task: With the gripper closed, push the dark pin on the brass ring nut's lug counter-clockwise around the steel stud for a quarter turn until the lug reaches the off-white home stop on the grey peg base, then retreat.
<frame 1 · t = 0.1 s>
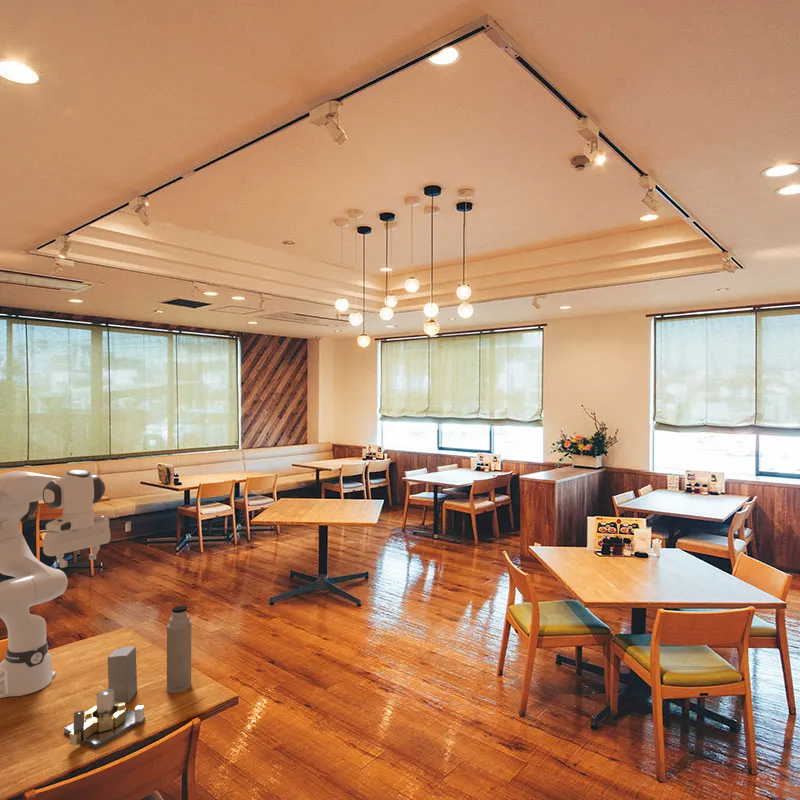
hand: (78, 563, 179), 48 cm above the table, fingers open, 8 cm apart
thermos bottle: (179, 688, 193), on the table
ring nut: (97, 714, 167), point 6 cm above the table, hinge at 0.0°
skincare box: (122, 698, 186), on the table
grey peg base: (105, 727, 170), on the table
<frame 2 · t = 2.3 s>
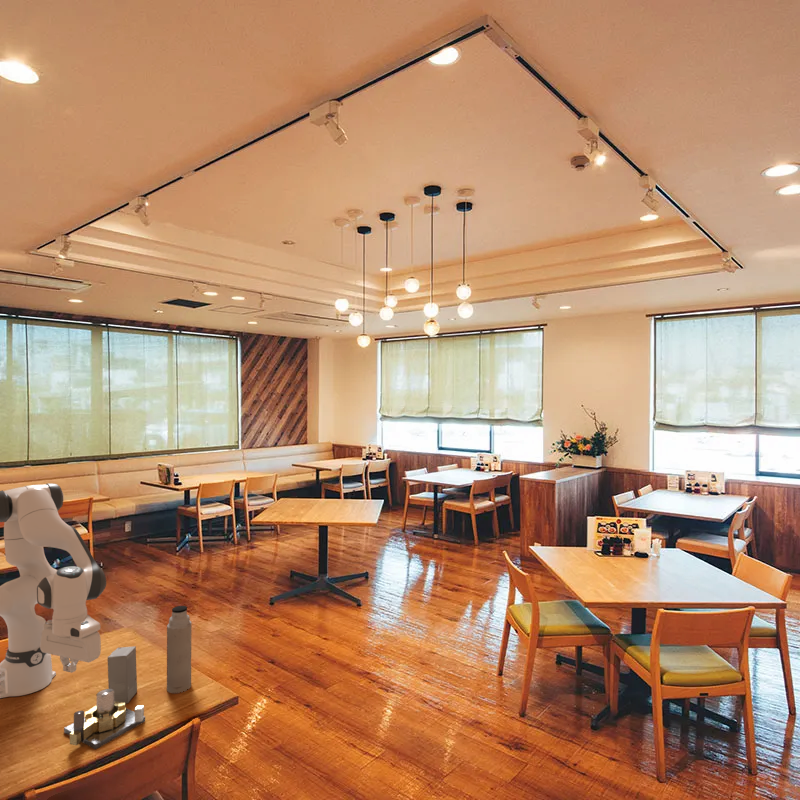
hand: (69, 671, 162), 21 cm above the table, fingers closed
nothing on the table moved.
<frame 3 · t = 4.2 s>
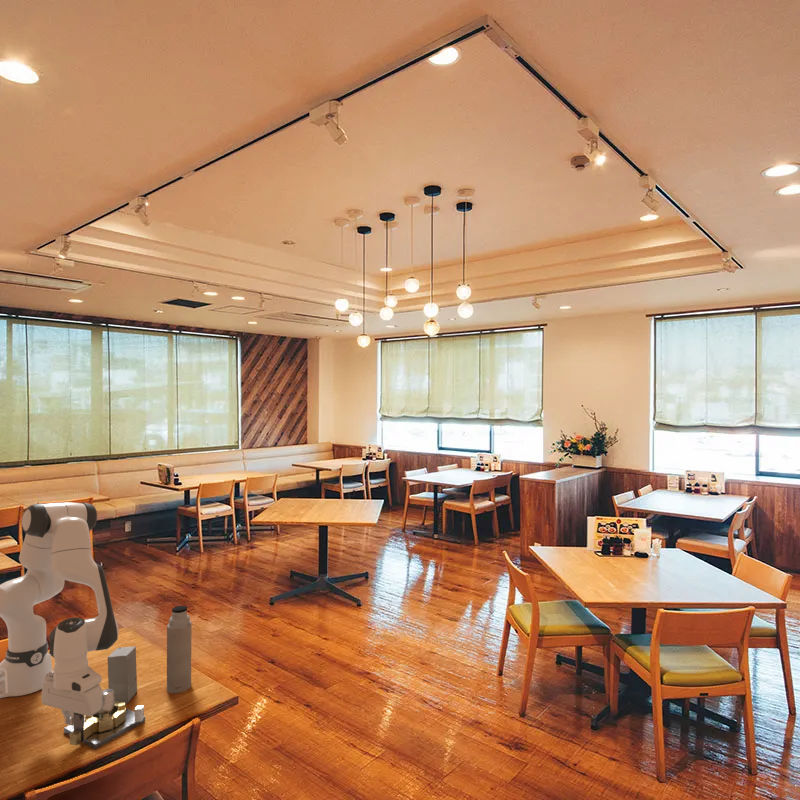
hand: (71, 723, 162), 6 cm above the table, fingers closed
ring nut: (97, 714, 167), point 6 cm above the table, hinge at 0.0°, touching gripper
everything else where it was.
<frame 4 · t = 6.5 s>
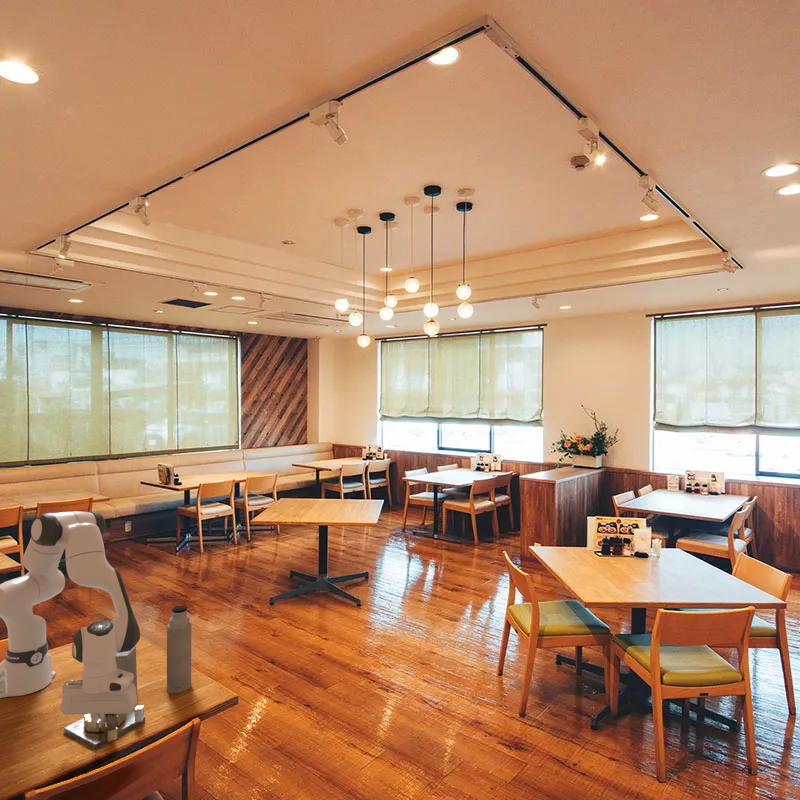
hand: (98, 726, 161), 5 cm above the table, fingers closed
ring nut: (107, 713, 167), point 6 cm above the table, hinge at 51.8°, touching gripper
everything else where it was.
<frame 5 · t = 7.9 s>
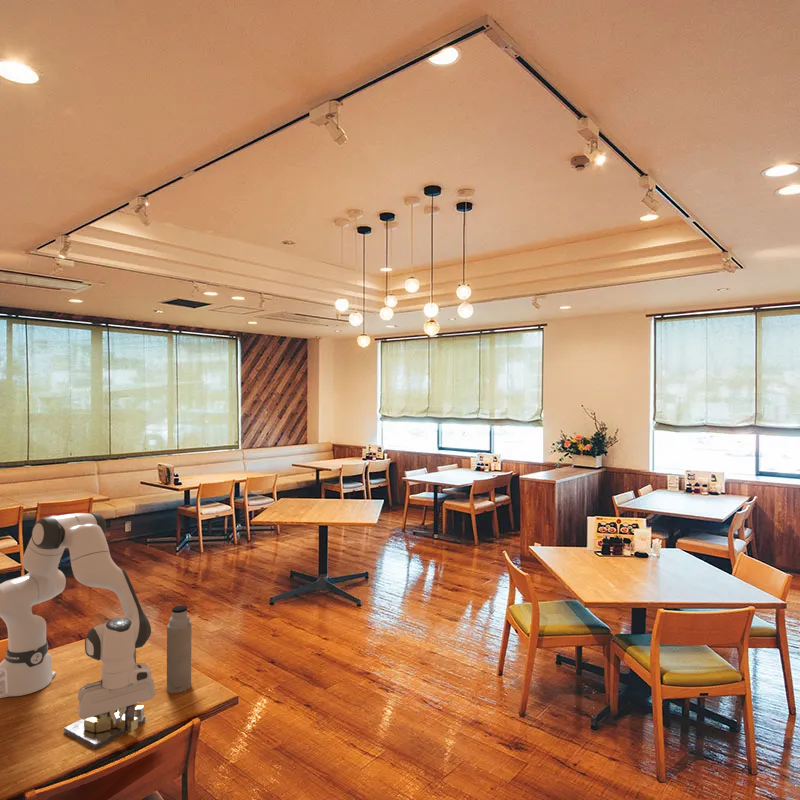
hand: (117, 722, 163), 5 cm above the table, fingers closed
ring nut: (113, 710, 169), point 6 cm above the table, hinge at 83.0°, touching gripper
everything else where it was.
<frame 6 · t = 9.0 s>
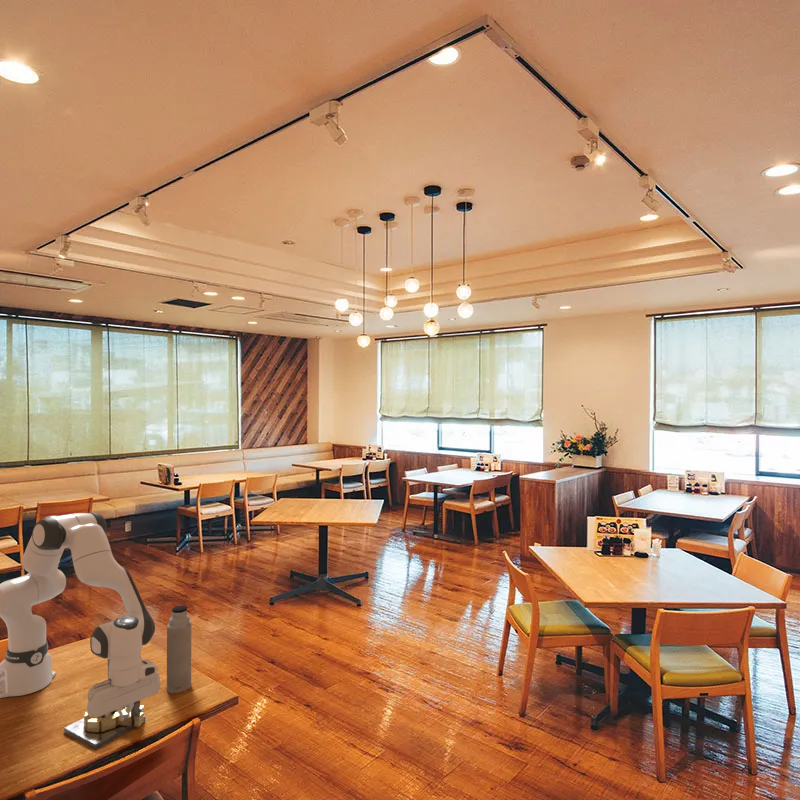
hand: (124, 719, 165), 5 cm above the table, fingers closed
ring nut: (115, 709, 169), point 6 cm above the table, hinge at 96.8°, touching gripper
everything else where it was.
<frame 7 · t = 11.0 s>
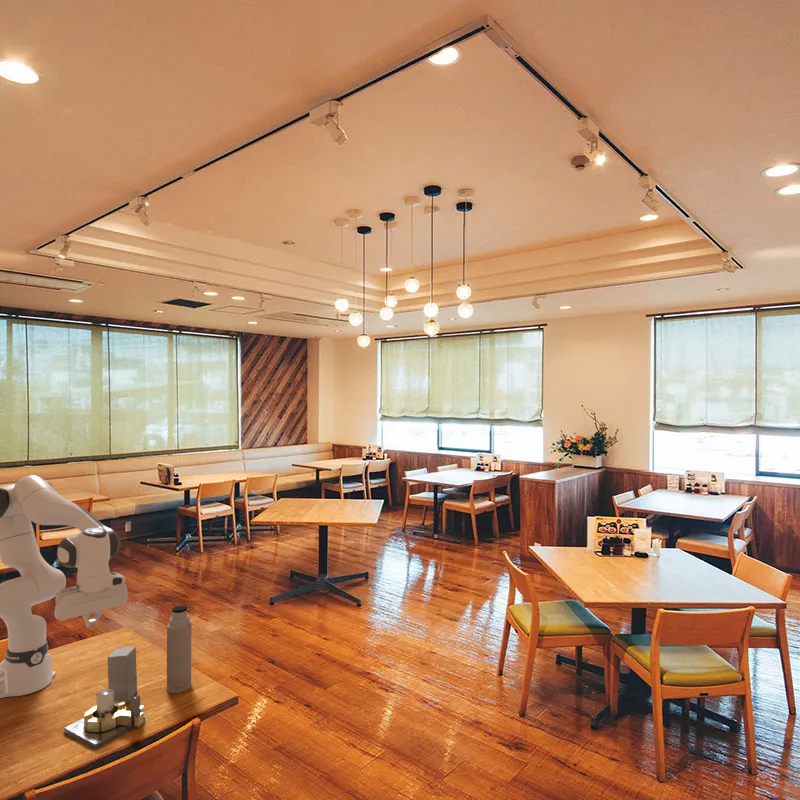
hand: (91, 625, 171), 31 cm above the table, fingers closed
ring nut: (115, 709, 169), point 6 cm above the table, hinge at 96.8°
everything else where it was.
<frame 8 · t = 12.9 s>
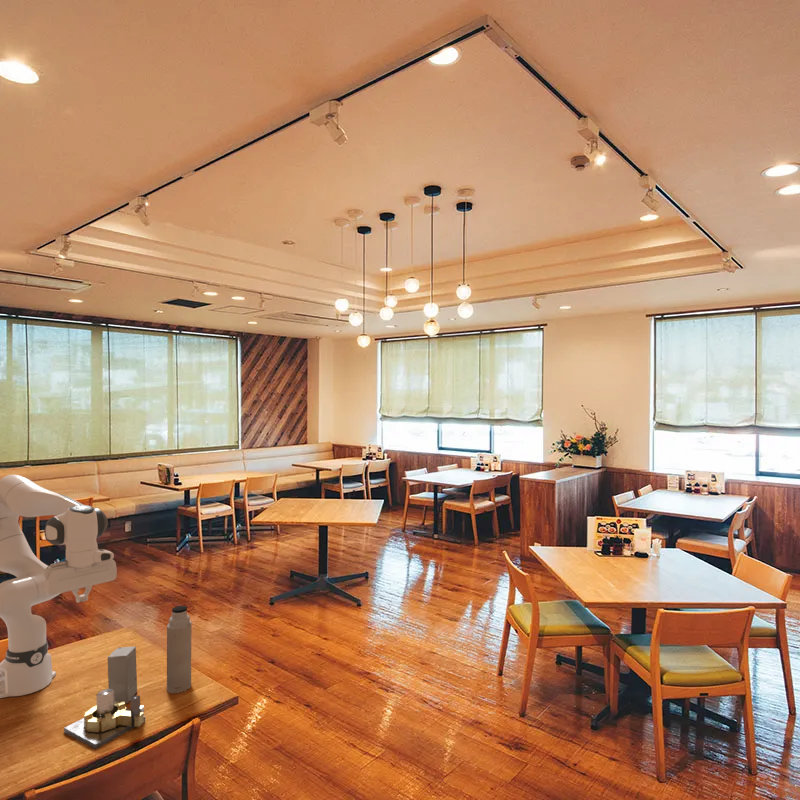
hand: (81, 601, 174), 37 cm above the table, fingers closed
nothing on the table moved.
at the end: ring nut at +97° (first picture: +0°); ring nut touching nothing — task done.
